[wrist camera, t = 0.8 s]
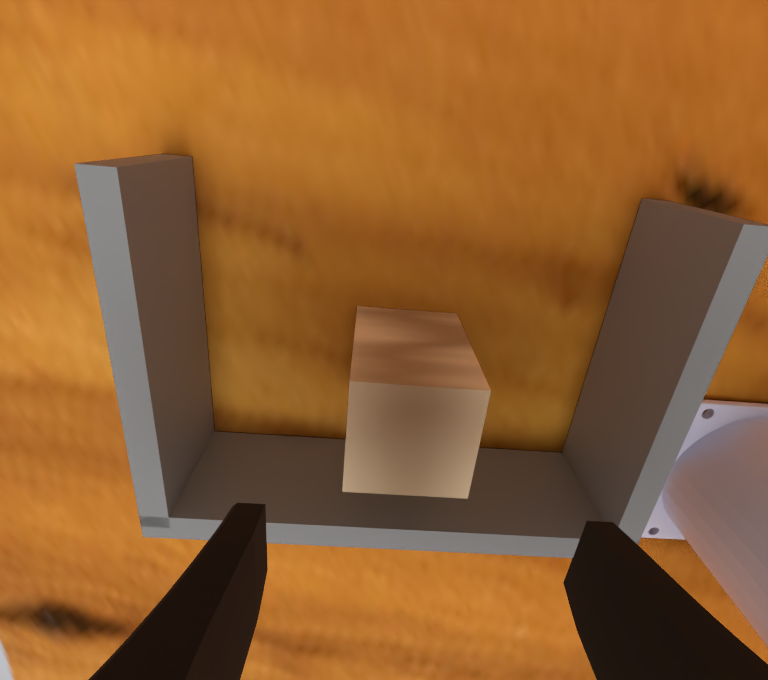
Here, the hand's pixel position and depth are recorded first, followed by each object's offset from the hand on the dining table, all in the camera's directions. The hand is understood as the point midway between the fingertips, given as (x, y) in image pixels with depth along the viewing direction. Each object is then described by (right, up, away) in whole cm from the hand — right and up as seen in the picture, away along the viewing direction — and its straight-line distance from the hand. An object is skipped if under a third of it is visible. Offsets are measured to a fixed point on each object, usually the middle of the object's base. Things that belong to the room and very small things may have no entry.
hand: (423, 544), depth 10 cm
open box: (0, +5, +8) cm, 10 cm away
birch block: (0, +4, +9) cm, 10 cm away
